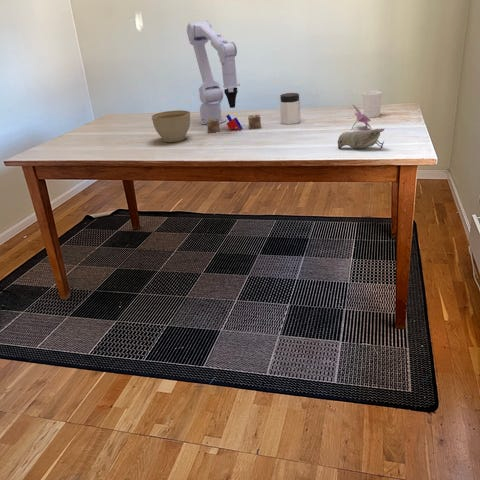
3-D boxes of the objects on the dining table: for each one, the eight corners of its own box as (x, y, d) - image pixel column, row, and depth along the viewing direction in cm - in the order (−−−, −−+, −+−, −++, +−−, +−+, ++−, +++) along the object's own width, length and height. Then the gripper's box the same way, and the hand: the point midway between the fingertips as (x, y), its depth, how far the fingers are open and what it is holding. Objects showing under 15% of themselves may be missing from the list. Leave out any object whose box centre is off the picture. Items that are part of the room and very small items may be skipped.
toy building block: (234, 132, 221) (225, 116, 219) (242, 127, 219) (232, 111, 217) (232, 134, 218) (222, 118, 216) (240, 129, 216) (230, 113, 214)
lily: (368, 136, 193) (379, 112, 191) (340, 124, 195) (351, 101, 193) (367, 137, 205) (377, 115, 203) (341, 127, 207) (351, 104, 204)
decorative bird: (339, 146, 181) (339, 126, 178) (384, 147, 176) (385, 126, 172) (336, 151, 177) (336, 130, 174) (383, 151, 171) (384, 130, 168)
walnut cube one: (249, 129, 216) (248, 117, 214) (249, 127, 221) (248, 115, 218) (261, 128, 216) (260, 116, 214) (260, 125, 221) (259, 114, 218)
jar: (304, 121, 220) (303, 93, 215) (291, 125, 216) (290, 97, 211) (290, 119, 227) (289, 92, 222) (277, 122, 222) (275, 95, 217)
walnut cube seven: (208, 133, 216) (207, 121, 214) (208, 130, 221) (207, 119, 219) (219, 132, 216) (218, 120, 214) (219, 129, 221) (218, 118, 219)
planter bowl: (187, 144, 203) (183, 117, 198) (150, 145, 206) (145, 119, 202) (197, 134, 217) (194, 108, 212) (163, 135, 220) (159, 110, 216)
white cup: (358, 116, 220) (359, 93, 216) (373, 113, 223) (373, 90, 218) (370, 119, 214) (370, 95, 209) (384, 115, 216) (385, 92, 212)
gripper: (239, 75, 202) (242, 109, 208) (238, 70, 215) (241, 102, 221) (222, 76, 202) (225, 110, 208) (222, 72, 215) (225, 104, 221)
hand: (232, 106), depth 214 cm, fingers open, 4 cm apart
